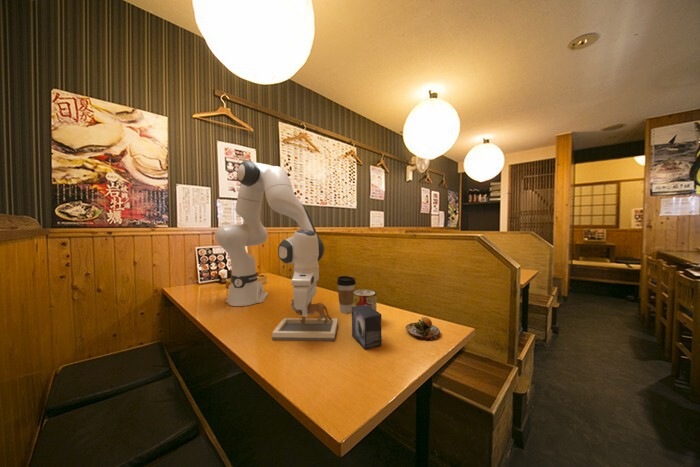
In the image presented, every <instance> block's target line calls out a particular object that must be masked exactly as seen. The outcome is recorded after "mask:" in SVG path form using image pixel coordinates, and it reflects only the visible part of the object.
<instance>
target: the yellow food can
mask: <svg viewBox="0 0 700 467" xmlns="http://www.w3.org/2000/svg"><path fill="white" fill-rule="evenodd" d="M353 301H354V305H353V307H355V306H361V305H366V304H367V305H368V306H370V307H371V308H373V309H374V310H376V311H377V292H376V291H375V290H372V289H358V290H357V289H356V290H355V291H354V292H353Z"/></svg>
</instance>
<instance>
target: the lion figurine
mask: <svg viewBox="0 0 700 467" xmlns="http://www.w3.org/2000/svg"><path fill="white" fill-rule="evenodd" d="M290 301H291V302H290V308H291V311H293V312H295V313H296V315H297V316H301V318H302V320H301V321H300V322H301V324H304V323H305V322H306V320H305V318H307V317H303V316H302V310H297V309H295V306H294V298H292V299H291V300H290ZM307 308H308V315H314V314H316V313H318V315H319V319H318V320H317V321H321V319H322V318H325V319H326V320H325V321H324V323H327V322H328V319H329V320H332V319H333V318H332V317H330V316H329V311H328V309H327V306H326V305H325V304H324V303H322V302H317V303H312V304H309V305H308V307H307ZM331 318H332V319H331Z"/></svg>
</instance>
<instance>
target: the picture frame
mask: <svg viewBox="0 0 700 467" xmlns="http://www.w3.org/2000/svg"><path fill="white" fill-rule="evenodd" d="M319 318H320V317H319ZM319 318H318V317H317V318H316V317H313V318H312V317H310V318H309V317H306V318H305V320H306V322H305V323H304V324H301V322H300V321H301V320H302V317H300V318H299V317H283V319H282V320H281V321H280V322H279V323H278V324H277V326H276V327H275V328H274V329H273V331H272V332H271V340H272V341H302V342H303V341H304V342H306V341H307V342H308V341H309V342H310V341H314V342H315V341H317V342H335V339H336V335H337V330H338V326H339V320H338V318H332V317H330V318H331V319H332V320H329V319H328V322H327V323H324V321H325V320H326V319H325V318H324V317H323V318H322V319H321V321H317V320H318V319H319Z"/></svg>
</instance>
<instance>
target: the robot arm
mask: <svg viewBox="0 0 700 467" xmlns="http://www.w3.org/2000/svg"><path fill="white" fill-rule="evenodd" d="M236 177H237V181H238V182H239V183H240V186H239V189H238V194H237V197H236V198H237V199H236V203H235V204H236V205H235V212H236V214H237V215H238V216H239V217H241V219H243V220H242V221H243V223H241V224H240V223H239V224H225V225H221V226H219V227H217V229H216V231H215V233H214V239H215V241H216V243H217V244H218V246H220V248H222V249H223V250H225V251H226V253H227V255H228V257H229V259H230V267H231V270H230V271H231V274H230V284H229V285H228V295H227V299H226V300H225V303H227V304H228V305H229V306H232V307H246V306H251V305H255V304H260V303H264V301H265V299H266V298H267V297H268V295H269V294H268V292H267V291H264V285H263V284H262V283H261V282H260V281H259V280H258V277H259V275H260V274H259V273H260V272H256V267H257V266H256V258H255V257H254V256H253V255H252V254H251V253H248V252H247V249H246V247H251V246H252V247H255V246H258V245H263V244H265V243H266V241H267V239H268V235H269V234H268V230H267V229H266V227H265V226H264V225H263V223H262V221H261V211H262V210H261V209H262V204H263V200H264V199H263V198H264V194H265V199H266V201H267V204H268V206H269V208H270V209H271V210H272V211H274V212H275V213H277V214H280V215H282V216H283V215H284V216H285V217H288V218H291V219H292V220H294V221H295V222H296V223H297V224H298V227H299V229H298V230H296V231H295V232H294V234H293V235H291V236H290V237H288V238H285V239H283V240H281V242H280V243H279V245H278V247H277V254H278V256H277V257H278V258H279V260H280V261H282V263H284V264H287V265H288V264H289V265H292V264H293V274H292V275H293V276H292V277H291V282H290V283H291V286H293V287H292V294H293V295H292V296H293V299H294V306H295V309H297V310H302V316H303V317H306V318H308V316H309V314H308V308H307V307H308V305H309V304H313V298H314V297H315V295H316V294H317V282H319V280H320V273H319V272H320V265H319V261H320V260H321V259H322V257H323V256H324V254H325V245H324V243H323V241H322V239H321V238H320V236H319V235H318V233H317V230H316V228H315V226H314V224H313V221H312V218H311V217H310V215H309V212H308V210H307V208H306V206H305V205H304V204H303V203H302V202H301V200H299V198H298V197H297V196H296V194H295V192H294V190H293V187H292V183H291V180H290V177H289V176H288V173H287V171H286V170H285V169H284V168H283V167H281V166H277V165H270V164H267V163H260V162H254V161H251V160H245V161H241V163H240V164H239V165H238V167H237V172H236ZM302 316H301V317H302Z"/></svg>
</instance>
